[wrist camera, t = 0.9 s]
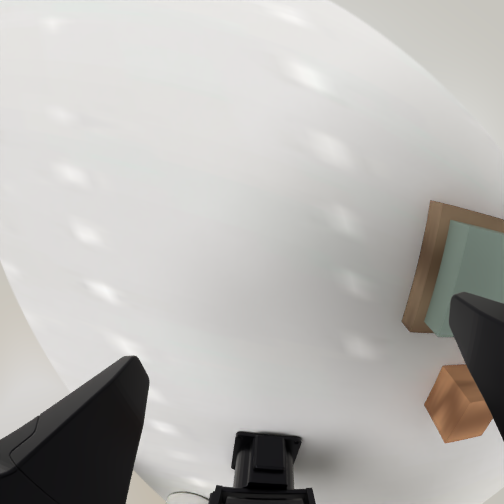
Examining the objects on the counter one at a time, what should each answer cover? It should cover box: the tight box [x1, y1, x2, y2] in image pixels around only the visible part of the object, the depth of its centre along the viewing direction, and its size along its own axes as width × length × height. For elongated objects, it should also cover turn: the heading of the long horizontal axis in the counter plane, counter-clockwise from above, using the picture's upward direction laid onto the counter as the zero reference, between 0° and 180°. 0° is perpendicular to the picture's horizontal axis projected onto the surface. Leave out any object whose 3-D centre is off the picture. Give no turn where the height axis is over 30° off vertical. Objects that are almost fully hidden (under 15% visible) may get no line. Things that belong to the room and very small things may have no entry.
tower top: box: [424, 220, 504, 337], centre depth 19 cm, size 8×8×2 cm
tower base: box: [402, 200, 504, 333], centre depth 21 cm, size 10×10×2 cm
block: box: [424, 365, 493, 443], centre depth 22 cm, size 5×5×6 cm
